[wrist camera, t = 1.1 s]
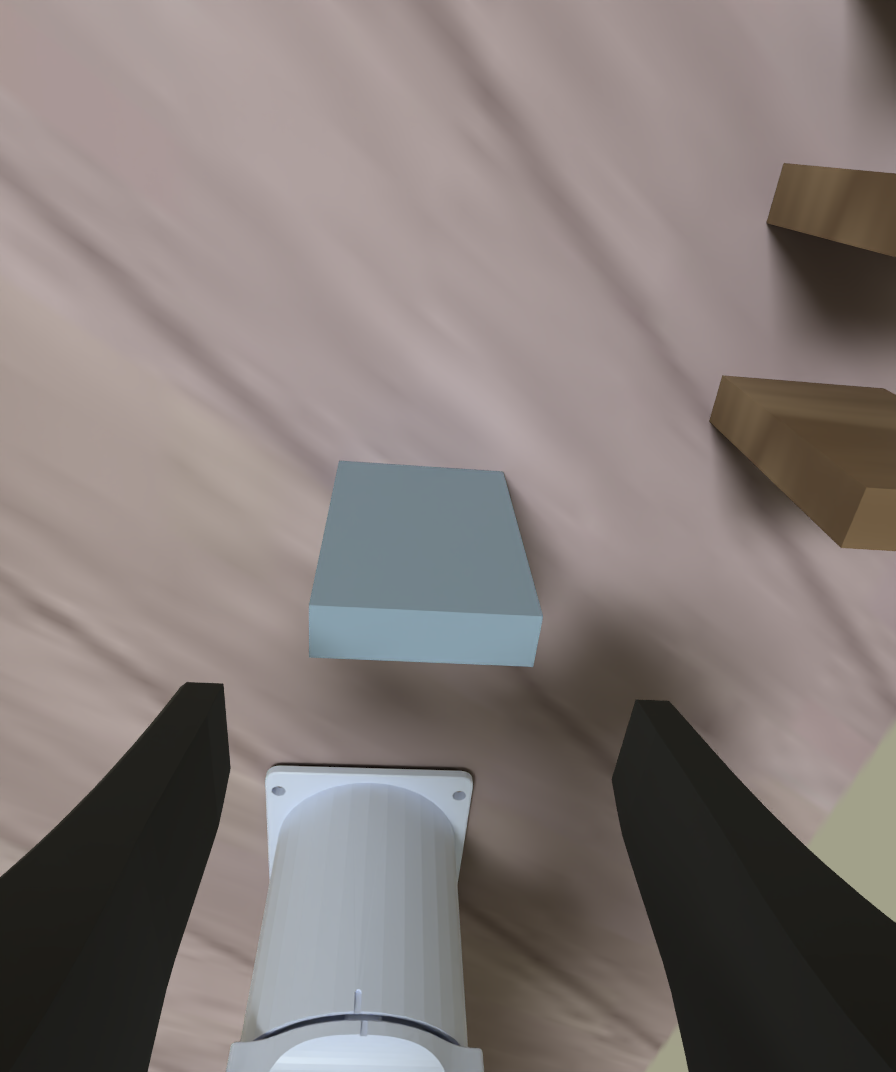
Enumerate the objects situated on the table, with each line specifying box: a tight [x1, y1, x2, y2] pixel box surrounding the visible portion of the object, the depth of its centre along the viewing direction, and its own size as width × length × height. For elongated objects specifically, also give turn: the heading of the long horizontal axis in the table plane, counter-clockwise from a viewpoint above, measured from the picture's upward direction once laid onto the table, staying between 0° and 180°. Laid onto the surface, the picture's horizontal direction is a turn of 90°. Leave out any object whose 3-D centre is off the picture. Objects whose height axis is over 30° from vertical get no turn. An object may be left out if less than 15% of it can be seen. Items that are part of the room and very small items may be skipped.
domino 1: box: [309, 461, 543, 667], centre depth 19 cm, size 1×5×8 cm, turn 84°
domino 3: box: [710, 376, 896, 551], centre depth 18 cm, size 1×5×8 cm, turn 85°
